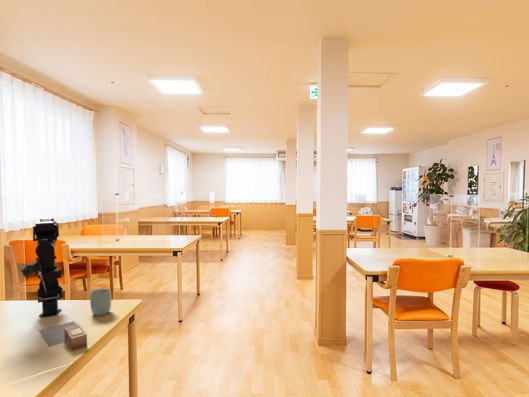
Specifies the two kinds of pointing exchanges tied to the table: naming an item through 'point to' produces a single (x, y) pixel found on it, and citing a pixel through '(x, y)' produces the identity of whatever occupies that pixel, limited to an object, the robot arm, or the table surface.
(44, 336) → the mat
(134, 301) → the table surface
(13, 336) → the table surface
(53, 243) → the robot arm
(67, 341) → the block
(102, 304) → the cup
